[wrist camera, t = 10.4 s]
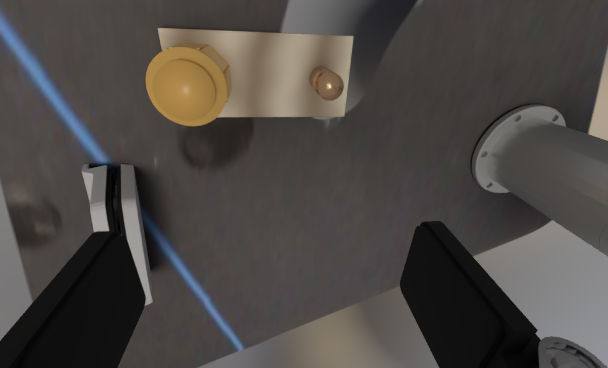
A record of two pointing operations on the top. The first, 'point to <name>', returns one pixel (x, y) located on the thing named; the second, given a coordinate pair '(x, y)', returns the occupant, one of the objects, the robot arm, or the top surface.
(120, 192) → the hinge
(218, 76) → the cap
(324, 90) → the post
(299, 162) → the top surface
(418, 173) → the top surface
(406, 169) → the top surface
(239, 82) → the plate
